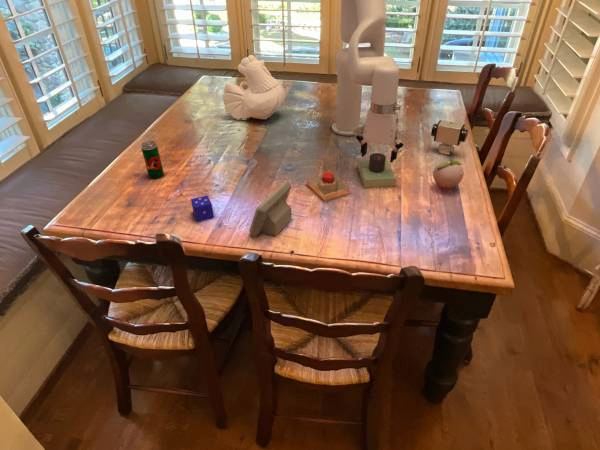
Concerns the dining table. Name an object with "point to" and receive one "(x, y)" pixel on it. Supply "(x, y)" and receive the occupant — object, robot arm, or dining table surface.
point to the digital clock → (272, 212)
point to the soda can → (152, 159)
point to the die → (202, 208)
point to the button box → (328, 187)
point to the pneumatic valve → (448, 135)
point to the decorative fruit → (448, 174)
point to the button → (328, 177)
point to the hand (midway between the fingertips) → (378, 157)
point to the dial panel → (376, 175)
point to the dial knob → (377, 162)
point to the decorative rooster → (253, 92)
